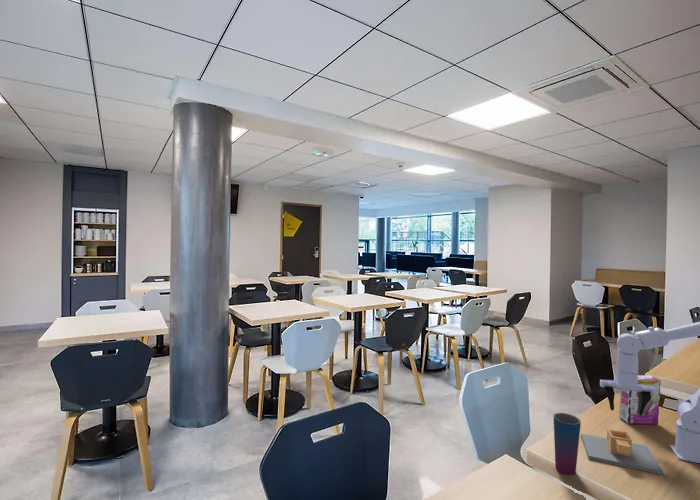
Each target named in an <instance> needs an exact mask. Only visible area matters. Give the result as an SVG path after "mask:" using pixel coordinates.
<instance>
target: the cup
mask: <svg viewBox="0 0 700 500" xmlns="http://www.w3.org/2000/svg"><path fill="white" fill-rule="evenodd" d="M581 424H582V420H581V419H580V418H579V417H577V416H575V415H573V414H570V413H564V412H555V413H554V414H553V436H554V438H553V439H554V441H553V442H554V462H555V466H554V467H555V469H556V470H557V472H559V473H560V474H563V475H566V476H574V475H575V474H576V472H577V464H578V453H579V443H580V436H581Z"/></svg>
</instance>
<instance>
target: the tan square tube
mask: <svg viewBox="0 0 700 500" xmlns="http://www.w3.org/2000/svg"><path fill="white" fill-rule="evenodd" d="M606 438H607V446H608V448H609V450H610V453H615V454H620V455H625V456H630V457H631V448H632V443H633V439H632V438H631V437H630V435H629V433H628V432H627V431H622V430H617V429H612V428H607V429H606Z"/></svg>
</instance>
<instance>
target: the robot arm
mask: <svg viewBox="0 0 700 500" xmlns="http://www.w3.org/2000/svg"><path fill="white" fill-rule="evenodd" d="M695 337H700V321H697V322H692V323H688V324H685V325H681V326H676V327H673V328H669V329H662V328H660V327H653V326H648V329H645V330H644V329H643V330H641V331H640V330H639V331H636V332H635V330H633V331H631V332H630V333H628V332H627V333H625V332H624V333H622V334H620V335H618V337H617V339H616V344H617V347H618V348H617V352H616V353H617V355H616V372H615V373H616V374H615V380H614V379H613V380H612V379H599V386H600V387H601V388H604V389H603V390H604V391H605V393H606V397H607V399H608V403H609V409H610V410H611V411H615V395H616V392H615V391H614V389H616V390H621V389H623V390H630V391H637V392H638V413H639V415H642V414H643V411H644V408H645V406H646V405H647V403H648V402H649V401H650V400H651V397H652V396H651V395H650V394H653V395H655V388H654V387H651V386H646V385H641V384H638V375H639V357H638V353H639V352H640V351H645V350H650V349H655V348H662V347H666V346H668V344H669V343H670V342H671V341H675V340H682V339H688V338H695ZM675 409H676V412H677V414H678V415H679V418H678V420H676V421H675V441H674V445H673V444H670V445H669V448H670V449H671V450H672V451H673V452H674V454H675V455H676V457H677V458H678V459H679V460H682V461H687V462H690V463H691V462H692V463H697V464H700V387H699V388H698V390H696V392H695V393H694V394H691V395H689V396H688V397H687V398H686V399H684V400H682V401H680V402H678V403H677V405H676V408H675Z"/></svg>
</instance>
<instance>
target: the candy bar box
mask: <svg viewBox="0 0 700 500" xmlns="http://www.w3.org/2000/svg"><path fill="white" fill-rule="evenodd" d="M661 381H662V380H661V379H659V378H656V377H654V376H652V375H648V374H647V375H646V374H645V375H639V374H638V384H641V385H646V386H651V387H654V388H655V395H653V394H650V395H651V396H652V397H651V400H650V401H649V402H648V403H647V405H646V406H645V408H644V411H643V414H642V415H639V413H638V392H637V391H630V390H623V389H620V399H619V416H618V417H619V419H620V420H621V421H623V422H625V423H626V424H627V425H659V415H660V414H659V411H660V410H659V409H660V396H661V395H660V394H661Z"/></svg>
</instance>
